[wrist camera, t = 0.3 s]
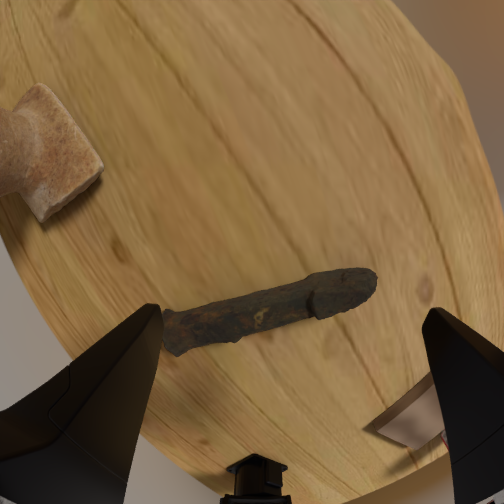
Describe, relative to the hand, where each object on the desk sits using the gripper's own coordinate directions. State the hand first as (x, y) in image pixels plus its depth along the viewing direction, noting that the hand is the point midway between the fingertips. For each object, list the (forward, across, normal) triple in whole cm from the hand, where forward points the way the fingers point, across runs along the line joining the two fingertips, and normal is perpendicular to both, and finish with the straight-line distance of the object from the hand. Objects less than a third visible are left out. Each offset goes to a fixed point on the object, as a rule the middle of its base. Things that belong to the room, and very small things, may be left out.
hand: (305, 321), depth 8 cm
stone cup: (+17, +23, -3) cm, 29 cm away
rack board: (+9, -24, +25) cm, 36 cm away
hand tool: (+14, 0, +10) cm, 17 cm away
